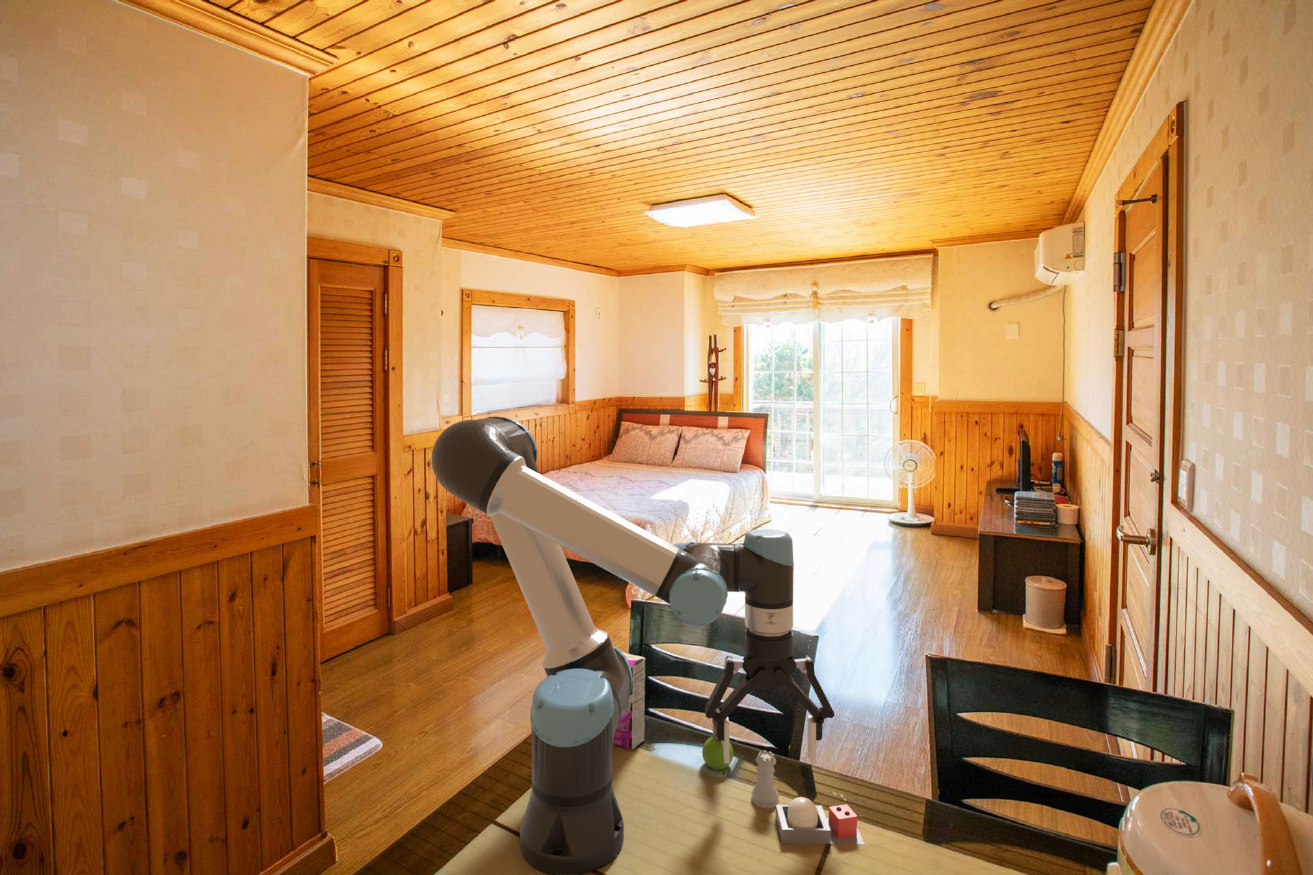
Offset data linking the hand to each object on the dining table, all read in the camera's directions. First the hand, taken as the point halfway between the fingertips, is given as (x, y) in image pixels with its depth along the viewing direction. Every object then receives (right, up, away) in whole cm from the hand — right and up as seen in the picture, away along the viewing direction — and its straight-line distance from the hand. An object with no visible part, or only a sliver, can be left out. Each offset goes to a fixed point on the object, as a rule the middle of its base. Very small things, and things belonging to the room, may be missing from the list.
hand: (768, 758), depth 110 cm
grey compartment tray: (+6, -8, -7) cm, 12 cm away
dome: (+4, -7, -7) cm, 11 cm away
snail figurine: (-7, -7, +10) cm, 14 cm away
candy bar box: (-26, -6, +20) cm, 34 cm away
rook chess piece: (-1, -8, +1) cm, 8 cm away
